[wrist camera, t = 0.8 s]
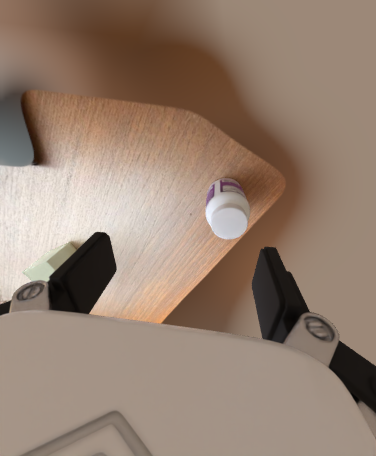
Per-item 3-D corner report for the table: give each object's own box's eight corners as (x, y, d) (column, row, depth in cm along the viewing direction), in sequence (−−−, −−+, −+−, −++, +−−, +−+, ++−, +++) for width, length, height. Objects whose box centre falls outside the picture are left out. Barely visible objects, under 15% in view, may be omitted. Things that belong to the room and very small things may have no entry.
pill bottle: (219, 216, 31) (221, 252, 23) (200, 190, 29) (194, 219, 21) (249, 198, 29) (264, 230, 20) (231, 169, 27) (238, 191, 19)
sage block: (69, 241, 38) (46, 261, 33) (92, 267, 40) (74, 289, 35) (46, 252, 40) (21, 272, 35) (70, 275, 43) (50, 297, 38)
